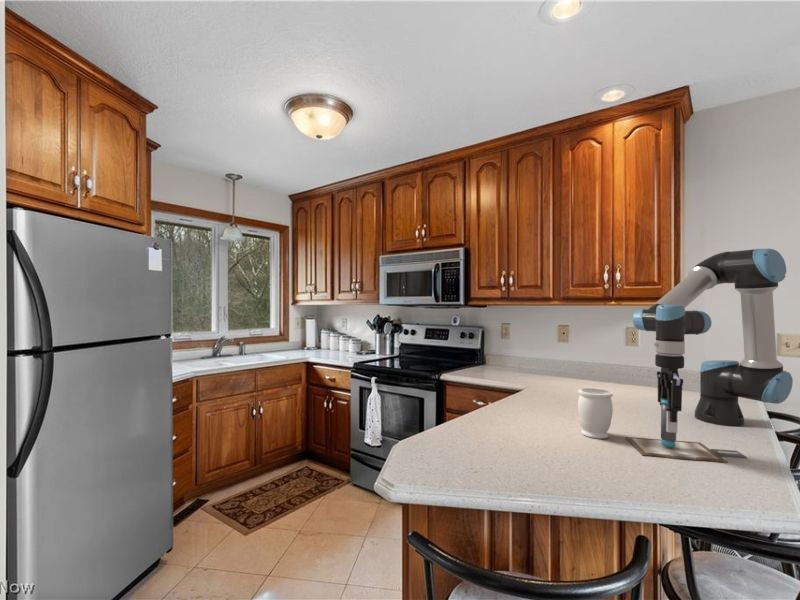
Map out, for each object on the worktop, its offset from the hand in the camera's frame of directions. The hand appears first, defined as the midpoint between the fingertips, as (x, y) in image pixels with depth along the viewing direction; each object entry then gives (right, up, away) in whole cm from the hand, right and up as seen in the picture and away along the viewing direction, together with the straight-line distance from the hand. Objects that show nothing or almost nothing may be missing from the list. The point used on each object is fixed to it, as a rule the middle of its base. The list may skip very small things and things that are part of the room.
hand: (668, 429), depth 128 cm
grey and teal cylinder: (0, -5, 0) cm, 5 cm away
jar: (-17, -6, +13) cm, 22 cm away
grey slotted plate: (+16, -6, -4) cm, 17 cm away
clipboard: (+1, -6, 0) cm, 6 cm away
